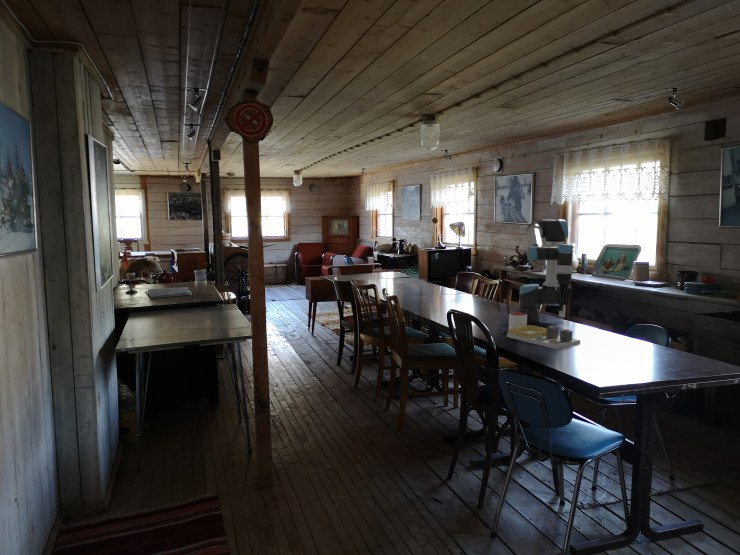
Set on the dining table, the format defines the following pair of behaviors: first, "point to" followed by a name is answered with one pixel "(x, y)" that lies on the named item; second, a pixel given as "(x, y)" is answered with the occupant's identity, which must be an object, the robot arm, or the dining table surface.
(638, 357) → the dining table surface
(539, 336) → the panel
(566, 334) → the breaker
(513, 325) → the cup
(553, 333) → the breaker
